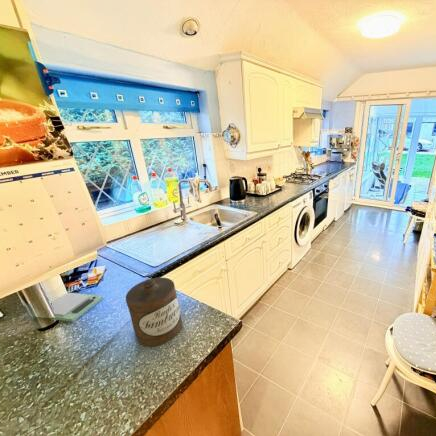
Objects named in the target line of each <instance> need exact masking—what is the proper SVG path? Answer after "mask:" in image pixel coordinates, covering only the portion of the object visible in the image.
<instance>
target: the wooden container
mask: <svg viewBox="0 0 436 436" xmlns="http://www.w3.org/2000/svg"><path fill="white" fill-rule="evenodd" d="M175 286H176V285H175V283H174V281H173V280H172V279H171V278H168V277H153V278H149V279H146V280H143V281H141V282H139V283H137V284H134V286H133V287H131V288H130V289H129V290H128V291H127V293H126V296H125V302H126V306H127V308H128V311H129V312H128V313H129V315H130V320H131V324H132V328H133V331H134V333H135V337H136V341H137V342H138V344H139V345H141V346H143V347H149V348H150V347H151V348H152V347H157V346H161V345H164V344H165V343H167V342H169V341H171V340H172V339H173V338H175V337H176V336H177V335H178V334H179V332H180V331H181V329H182V327H183V319H182V314H181V308H180V304H179V300H178V295H177V292H176V287H175Z"/></svg>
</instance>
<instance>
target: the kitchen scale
mask: <svg viewBox="0 0 436 436" xmlns="http://www.w3.org/2000/svg"><path fill="white" fill-rule="evenodd" d="M103 299H104V296H103V295H97V294H90V293H89V294H87V293H78V292H70V291H69V292H66V293H65V294H63V295H61V296H60V297H58V298H57V299H55V300H54V301H52V302H51V303H52V306H53V308H54V312H55V318H54V317H52V318H51V319H50V320H55V321H63V322H64V321H65V322H72V323H73V322H75V321H76V320H78V319H79V318H80V317H81V316H83V315H85V314H86V313H87V312H88V311H90V310H91V309H92V308H93V307H94V306H95V305H97V304H99V302H101V301H102V300H103Z"/></svg>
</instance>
